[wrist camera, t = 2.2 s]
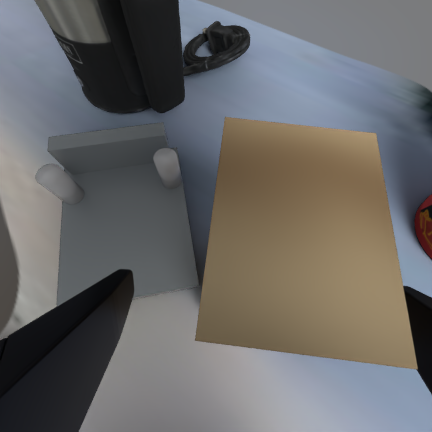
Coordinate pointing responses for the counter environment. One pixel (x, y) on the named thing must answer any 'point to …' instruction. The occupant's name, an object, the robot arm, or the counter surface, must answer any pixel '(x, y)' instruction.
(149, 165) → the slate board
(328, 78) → the counter surface
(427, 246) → the canned food
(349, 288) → the oak block
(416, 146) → the counter surface
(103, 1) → the milk frother
